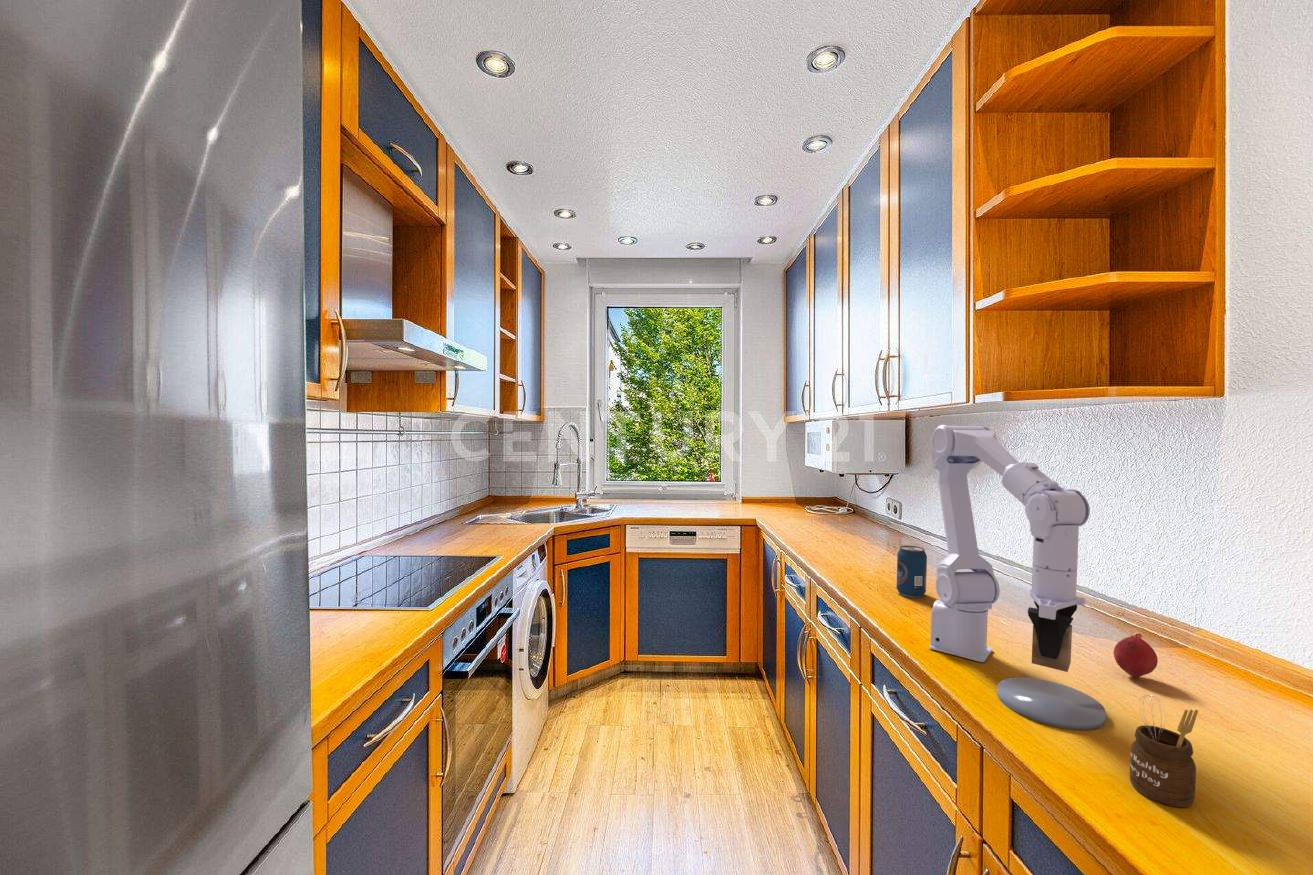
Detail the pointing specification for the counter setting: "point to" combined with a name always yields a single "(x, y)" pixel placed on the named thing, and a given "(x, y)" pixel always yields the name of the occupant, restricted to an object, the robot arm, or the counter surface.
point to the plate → (1051, 703)
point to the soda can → (911, 571)
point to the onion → (1135, 656)
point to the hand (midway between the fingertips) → (1051, 651)
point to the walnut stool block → (1064, 655)
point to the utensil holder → (1164, 762)
